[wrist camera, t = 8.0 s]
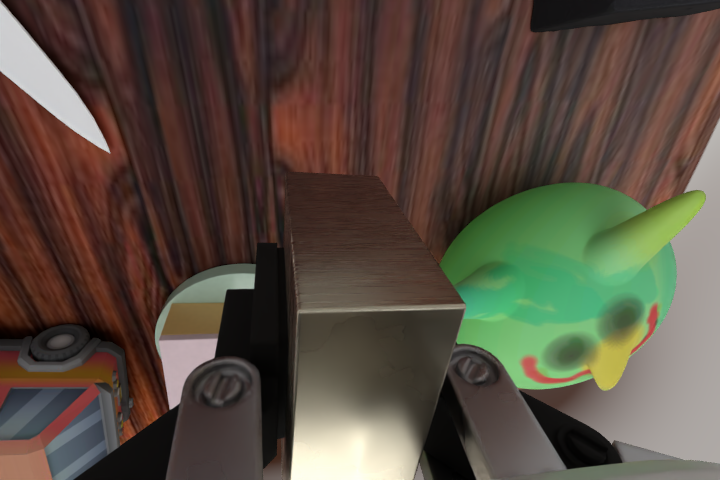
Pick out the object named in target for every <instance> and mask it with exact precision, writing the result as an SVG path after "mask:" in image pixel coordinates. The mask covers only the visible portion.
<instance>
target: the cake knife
mask: <svg viewBox="0 0 720 480" xmlns="http://www.w3.org/2000/svg"><path fill="white" fill-rule="evenodd" d="M284 255H285V277H286V300H287V322H288V366H287V391H286V416H285V438H281V446H282V447H281V449H282V480H414V478H415V475H416V471H417V468H418V464H419V461H420V458H421V455H422V452H423V448H424V445H425V442H426V439H427V435H428V432H429V429H430V425H431V422H432V419H433V416H434V412H435V409H436V406H437V403H438V399H439V396H440V393H441V389H442V386H443V383H444V380H445V376H446V373H447V370H448V367H449V363H450V360H451V357H452V354H453V350H454V347H455V344H456V340H457V337H458V334H459V331H460V327H461V324H462V321H463V318H464V314H465V311H466V304H465V302H464V301H463V299H462V298H461V296H460V295H459V294H458V292H457V291H456V289H455V288H454V286H453V285H452V283H451V282H450V280H449V279H448V278H447V276H446V275H445V273H444V272H443V270H442V269H441V267H440V266H439V264H438V263H437V262H436V260H435V259H434V257H433V256H432V254H431V253H430V251H429V250H428V248H427V247H426V246H425V244H424V243H423V241H422V240H421V238H420V237H419V235H418V234H417V232H416V231H415V230H414V228H413V227H412V225H411V224H410V222H409V221H408V219H407V218H406V216H405V215H404V214H403V212H402V211H401V209H400V208H399V206H398V205H397V203H396V202H395V200H394V199H393V198H392V196H391V195H390V193H389V192H388V190H387V189H386V187H385V186H384V184H383V183H382V182H381V180H380V179H379V177H377V176H364V175H344V174H324V173H304V172H287V173H286V183H285V219H284Z"/></svg>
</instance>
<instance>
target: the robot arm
mask: <svg viewBox="0 0 720 480" xmlns="http://www.w3.org/2000/svg"><path fill="white" fill-rule="evenodd" d="M287 366H288V322H287V300H286V277H285V255H284V248H277V243H257V255H256V268H255V282H254V289H227V291H226V295H225V301H224V306H223V312H222V318H221V323H220V329H219V334H218V340H217V346H216V351H215V357H214V358H213V359H211V360H208V361H206V362H204V363H202V364H201V365H199V366H198V367H196V368H195V369H194V370H193V371H192V372H191V373H190V374H189V375H188V377H187V378H186V380H185V383H184V386H183V389H182V394H181V400H180V403H179V404H178V405H177V406H175V407H174V408H172V409H171V410H170V411H168V412H167V413H165V414H164V415H163V416H161V417H160V418H158V419H157V420H156V421H154V422H153V423H152V424H150V425H149V426H147V427H146V428H145V429H143V430H142V431H140V432H139V433H138V434H136V435H135V436H133V437H132V438H131V439H129V440H128V441H126V442H125V443H124V444H122V445H121V446H119V447H118V448H117V449H115V450H114V451H112V452H111V453H110V454H108V455H107V456H105V457H104V458H103V459H101V460H100V461H98V462H97V463H96V464H94V465H93V466H92V467H90V468H89V469H87V470H86V471H85V472H83V473H82V474H80V475H79V476H78V477H76V478H75V479H73V480H263V469H264V468H265V467H266V466H267V465H268V464H269V463H270V461H272V460H273V459H274V457H275V456H276V455H277V439H280V438H285V416H286V391H287ZM419 463H420V466H421V470H422V473H423V477H424V480H720V464H717V463H711V462H703V461H694V460H683V459H679V458H675V457H672V456H668V455H665V454H661V453H657V452H654V451H651V450H647V449H644V448H640V447H636V446H632V445H629V444H626V443H622V442H619V441H614V442H613V443H612V445H611V443H610V442H609V441H608V440H607V439H606V438H605V437H603V436H602V435H601V434H600V433H599V432H597V431H596V430H594V429H592V428H590V427H589V426H587V425H586V424H584V423H582V422H580V421H578V420H576V419H574V418H572V417H570V416H568V415H566V414H564V413H562V412H560V411H558V410H557V409H555V408H553V407H551V406H549V405H547V404H545V403H543V402H541V401H539V400H537V399H535V398H533V397H531V396H529V395H527V394H526V393H524V392H522V391H520V390H518V389H517V387H516V385H515V384H514V382H513V380H512V379H511V377H510V375H509V374H508V372H507V371H506V369H505V367H504V366H503V364H502V363H501V362H500V361H499V359H498V358H497V357H495V356H494V355H493V354H492V353H490V352H489V351H487V350H485V349H483V348H481V347H478V346H475V345H471V344H457V342H456V344H455V347H454V350H453V354H452V357H451V360H450V363H449V367H448V370H447V373H446V376H445V380H444V383H443V386H442V389H441V393H440V396H439V399H438V403H437V406H436V409H435V412H434V416H433V419H432V422H431V425H430V429H429V432H428V435H427V439H426V442H425V445H424V448H423V452H422V455H421V458H420V461H419Z"/></svg>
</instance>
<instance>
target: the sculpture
mask: <svg viewBox="0 0 720 480" xmlns="http://www.w3.org/2000/svg"><path fill="white" fill-rule="evenodd" d="M719 8H720V0H534V6H533V14H532V21H531V31H533V32H546V31H558V30H564V29H574V28H579V27H587V26H598V25H610V24H617V23H623V22H629V21H636V20H644V19H651V18H661V17H662V18H665V17H676V16H683V15H691V14H696V13H701V12H706V11H711V10H715V9H719Z"/></svg>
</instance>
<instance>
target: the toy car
mask: <svg viewBox="0 0 720 480" xmlns="http://www.w3.org/2000/svg"><path fill="white" fill-rule="evenodd" d="M132 406H133V398H129V390H128V379H127V370H126V361H125V352H124V349H122V348H121V347H119V346H117V345H116V344H114V343H113V342H105V341H101V340H100V339H99V338H93V339H92V340H91V341H90V335H89V332H88V330H87V329H85V328H84V327H82V326H79V325H73V324H66V325H58V326H55V327H51V328H49V329H47V330H45V331H43V332H41V333H40V334H39V335H38V336H37V337H35V338H34V339H33V338H32V336H28V337H25V338H24V339H0V480H73V479H75V478H76V477H78V476H79V475H80V474H82V473H83V472H85V471H86V470H87V469H89V468H90V467H92V466H93V465H94V464H96V463H97V462H98V461H100V460H101V459H103V458H104V457H105V456H107V455H108V454H110V453H111V452H112V451H114V450H115V449H117V448H118V447H119V446H120V441H119V438H120V436H121V435H123V432H124V427H123V422H125V421H127V420H128V418H129V415H130V408H131V407H132Z"/></svg>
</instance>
